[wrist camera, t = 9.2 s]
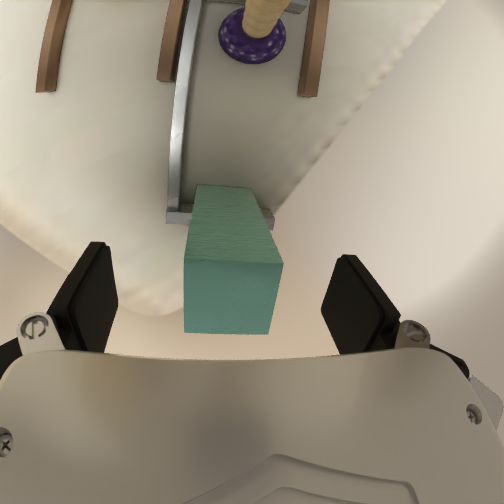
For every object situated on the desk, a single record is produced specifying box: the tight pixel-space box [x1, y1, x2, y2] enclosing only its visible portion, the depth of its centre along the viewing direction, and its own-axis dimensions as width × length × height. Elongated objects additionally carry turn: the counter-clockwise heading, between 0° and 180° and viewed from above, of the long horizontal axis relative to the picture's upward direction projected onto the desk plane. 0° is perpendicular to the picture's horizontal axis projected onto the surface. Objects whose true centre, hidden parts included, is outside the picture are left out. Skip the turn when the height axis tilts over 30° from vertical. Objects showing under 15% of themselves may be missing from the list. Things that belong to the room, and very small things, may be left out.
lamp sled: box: [166, 0, 308, 334], centre depth 12 cm, size 17×7×10 cm, turn 173°
